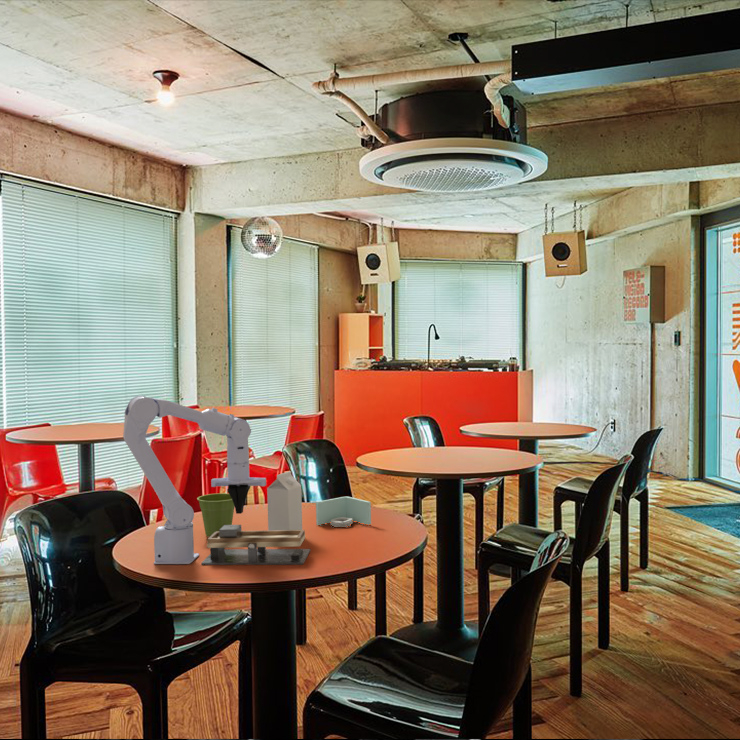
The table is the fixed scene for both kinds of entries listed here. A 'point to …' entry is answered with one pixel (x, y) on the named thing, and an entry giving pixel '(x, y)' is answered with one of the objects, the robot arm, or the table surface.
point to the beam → (259, 539)
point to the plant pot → (216, 511)
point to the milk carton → (284, 503)
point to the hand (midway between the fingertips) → (239, 512)
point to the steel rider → (230, 531)
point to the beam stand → (256, 556)
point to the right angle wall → (343, 511)
